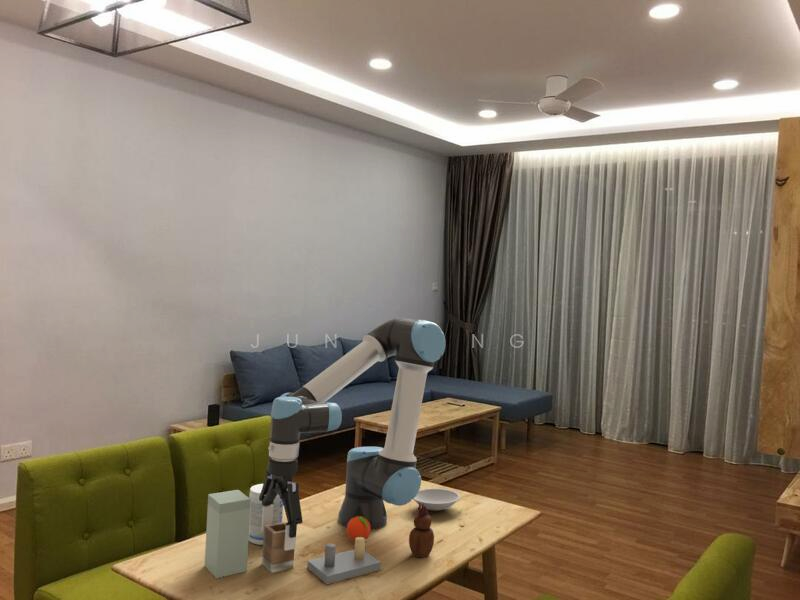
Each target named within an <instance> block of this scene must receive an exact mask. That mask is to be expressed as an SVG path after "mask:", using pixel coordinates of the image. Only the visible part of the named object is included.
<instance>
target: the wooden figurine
mask: <svg viewBox="0 0 800 600" xmlns="http://www.w3.org/2000/svg"><path fill="white" fill-rule="evenodd" d="M417 508H418V509H417V514H416V515H415V516H414V517H413V526H414V527H413V528H412V529H411V530H410V533H409V536H408V537H409V538H408V545H409V549H410V552H411V554H412V555H413V556H414V557H416V556H417V558H426V557H428V556H429V555H430V554H431V552H432V550H433V548H434V543H435V542H434V541H435V534H434V530H433V529H432V528H431V526H432V517H431V516H430V515H429V513H428V512H429V511H428V509H427V508H426V506H424V504H423V503H422V507H421V505H420V503H419V504H418V507H417ZM425 556H426V557H425Z"/></svg>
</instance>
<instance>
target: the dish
mask: <svg viewBox="0 0 800 600" xmlns="http://www.w3.org/2000/svg"><path fill="white" fill-rule="evenodd" d="M460 499H461V494H460V493H459V492H457V491H455V490H451V489H448V488H439V487H438V488H437V487H434V488H432V487H431V488H430V487H429V488H423V489H419V491H418V493H417V495H416V496H415V498H414V499H412V500H413V501H414V502H416V504H417V505H419V503H420V505H421V508H422V503H423V504H424V506H426V508H427V510H429V511H433V510H438V511H443V510H445V509H447V510H448V509H449V508H450V507H452V506H453V505H454V504H455V503H457V502H458V501H459V500H460Z"/></svg>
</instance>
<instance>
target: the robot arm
mask: <svg viewBox="0 0 800 600" xmlns="http://www.w3.org/2000/svg"><path fill="white" fill-rule="evenodd" d="M445 350H446V338H445V333H444V332H443V330H442V328H441V327H440V326H439V325H438V324H437V323H435V322H432V321H428V320H427V319H415V318H414V319H413V318H407V317H396V318H392V319H389V320H387V321H385V322H383V323H382V324H380V325H378V326H377V327H375V328H374V329H372V330H371V331H369V332H368V333H367V334H366V335H364V336H363V338H362V342H360V343H359V344H357V346H355V347H353V348H352V349H351V350H349V351H348V352H346V354H345V355H343V356H341V357H340V358H339V359H338V360H336V361H335V362H334V363H332V364H331V365H329V366H328V367H326V368H325V370H323V371H322V372H320V373H319V374H318V375H317V376H315V377H314V378H312V379H311V380H310V381H308V382H307V383H305V384H304V385H303V386H301V387H300V388H299V389H297V390H296V391H295V392H285V393H283V394H281V395H280V396H278V397H276V398H274V400H273V401H272V405H271V413H270V418H271V419H270V433H269V446H268V448H267V449H268V457H269V458H268V462H267V470H266V473H265V479H264V481H263V483H262V484H263V487H262V490H261V493H260V496H259V500H260V501H262V505H263V513H262V527H261V531H262V532H263V531H264V526H265V525H270V524H272V520H273V505H270V504H274V499H275V497H276V496H277V494H278V495H279V496H280V499H282V501H283V510H284V512H285V516H286V520H287V521H286V530H285V545H284V550H285V551H287V550H291V549H294V550H296V545H297V533H298V532H297V529H298V527H297V526H298V525H300V524H303V515H302V509H301V508H302V507H301V502H300V501H301V500H300V495H299V487H300V486H299V482H293V476H294V475H296V474H297V473H298V464H299V460H298V457H299V453H300V452H299V450H300V437H301V434H311V433H322V432H326V433H327V432H330V431H335V430H337V429H339V428H340V426H341V424H342V420H343V419H342V417H343V414H342V410H341V407H340V405H339V404H338V403H336V402H328V400H329V399H331V398H332V397H333V396H335V395H336V394H338V393H339V392H340V391H341V390H343V388H345V387H347V385H349V384H350V383H351V382H353V381H354V380H355V379H357V378H358V377H359V376H360V375H362V374H363V373H364V372H366V371H367V370H368V369H370V368H371V367H373V365H374V364H376V363H377V362H381V363H382V362H384V361H385V360H386V359H388V358H389V357H392V356H395V360H394V362H395V363H396V365H397V367H398V372H397V376H396V377H397V378H396V383H395V389H394V394H393V399H392V404H391V409H390V410H391V411H390V414H389V415H390V416H389V419H388V427H387V431H386V437H385V442H384V447H381V446H357V447H354V448H351V449H350V450H349V451H348V453H347V456H346V457H347V459H346V474H345V475H346V476H345V493H344V498H343V501H342V504H341V507H340V509H339V511H338V518H337V519H338V520H337V521H338V524H340V526H342V527H344V528H346V529H347V524H348V522H349V521H350V520H351V519H352V518H354V517H356V516H362V517H364V518H366V519H367V520H368V522H369V523H370V529H371V530H370V531H374V530H378V529H382V528H384V527H385V526H386V524H387V520H388V514H387V510H386V506H385V503H387V504H392V505H394V506H400V507H401V506H404V505H407V504H409V503H410V502H412V500H413V499H414V498H415V496H416V495H417V493H418V491H419V490H421V489H420V488H421V485H422V476H421V475H420V472H419V470H418V469H417V468H416V466H417V462H418V461H417V460H418V459H417V457H416V456H415V455H414V449H415V448H414V447H415V444H416V439H417V432H418V427H419V421H420V414H421V409H422V405H423V399H424V392H425V387H426V381H427V377H428V373H429V372H430V371H432V370H433V369H434V366H435V362H436V361H439V360H440V359H441V357H442V356H443V355H444V353H445ZM264 495H265V496H264ZM384 502H385V503H384ZM383 526H384V527H383Z"/></svg>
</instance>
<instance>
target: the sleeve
mask: <svg viewBox="0 0 800 600" xmlns="http://www.w3.org/2000/svg"><path fill="white" fill-rule="evenodd" d="M286 523H287V521H282V522H281V523H275V524H270V525H265V526H264V536H263V545H262V554H261V555H262V557H261V564H262V565H263V566H264V567H265V568H266V569H267V570H268V571H269V572H270V573H272V574H273V573H277V572H282V571H285V570H290V569H293V568H294V565H295V564H294V563H295V549H291V550H287V551H285V550H284V545H285V530H286Z"/></svg>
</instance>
